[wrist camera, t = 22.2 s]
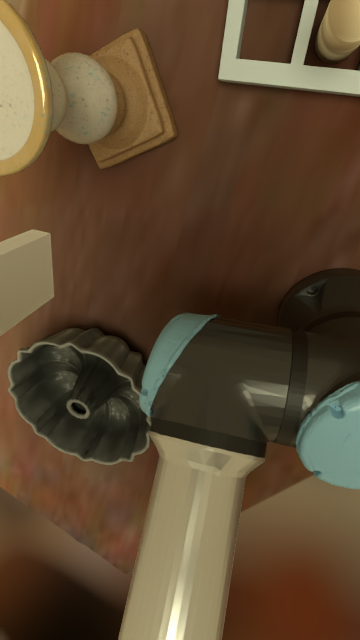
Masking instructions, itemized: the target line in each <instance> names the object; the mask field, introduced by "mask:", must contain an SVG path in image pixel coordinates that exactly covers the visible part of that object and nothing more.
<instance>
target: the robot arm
mask: <svg viewBox="0 0 360 640" xmlns="http://www.w3.org/2000/svg"><path fill="white" fill-rule="evenodd" d="M53 297H54V285H53V269H52V253H51V237H50V233H46V232H42V231H38V230H33V229H32V230H30V231H27V232H25V233H22V234H19V235H17V236H14V237H12V238H9V239H7V240H4V241H2V242H0V336H1V335H2V334H4V333H5V332H6V331H8V330H9V329H11V328H12V327H13V326H15V325H16V324H17V323H19V322H20V321H21V320H23V319H24V318H26V317H27V316H28V315H30V314H31V313H32V312H34V311H35V310H36V309H38V308H39V307H41V306H42V305H43V304H45V303H46V302H47V301H49V300H50V299H52V298H53ZM139 402H140V407H141V410H142V411H143V412H144V413H146V414H147V416H151V417H153V418H152V422H151V426H150V431H149V435H150V437H151V439H152V441H153V442H154V444H155V446H156V448H157V449H158V453H159V460H158V464H157V469H156V473H155V478H154V482H153V487H152V491H151V496H150V500H149V504H148V509H147V513H146V518H145V522H144V527H143V531H142V536H141V540H140V545H139V549H138V554H137V558H136V563H135V567H134V572H133V576H132V581H131V585H130V590H129V594H128V598H127V603H126V608H125V612H124V616H123V621H122V626H121V630H120V635H119V639H118V640H221V639H222V632H223V626H224V619H225V612H226V605H227V599H228V592H229V585H230V578H231V571H232V565H233V558H234V551H235V545H236V537H237V531H238V525H239V518H240V511H241V505H242V498H243V491H244V484H245V478H246V476H247V475H248V473H249V472H251V471H252V470H253V469H255V468H256V467H257V466H259V465H260V464H262V463H263V462H264V460H265V453H266V446H267V442H272V443H277V444H281V445H286V446H290V447H294V448H296V450H297V453H298V455H299V457H300V459H301V461H302V463H303V464H304V466H305V467H306V468H307V469H308V470H309V471H313V474H314V475H315V476H316V477H317V478H319V479H321V480H322V481H325V482H327V483H330V484H333V485H336V486H340V487H345V488H353V489H360V271H358V270H353V269H331V270H326V271H322V272H318V273H316V274H313V275H311V276H309V277H307V278H305V279H303V280H302V281H300V282H299V283H298V284H296V285H295V286H294V287H293V288H292V289H291V290H290V291H289V292H288V294H287V295H286V297H285V298H284V300H283V302H282V304H281V307H280V310H279V315H278V326H272V325H266V324H260V323H253V322H247V321H241V320H235V319H230V318H225V317H220V316H219V315H216V314H213V315H202V314H193V313H183V314H179V315H177V316H175V317H174V318H173V319H171V320H170V322H169V323H168V324H167V325H166V326H165V327H164V329H163V330H162V332H161V333H160V335H159V337H158V338H157V340H156V342H155V344H154V347H153V349H152V351H151V354H150V356H149V359H148V362H147V365H146V368H145V371H144V375H143V378H142V389H141V392H140V399H139Z"/></svg>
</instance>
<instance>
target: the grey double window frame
mask: <svg viewBox="0 0 360 640" xmlns="http://www.w3.org/2000/svg"><path fill="white" fill-rule="evenodd" d="M318 1H319V0H305V2H304V6H303V11H302V15H301V20H300V24H299V29H298V33H297V38H296V42H295V46H294V51H293V55H292V60H291V64H285V63H275V62H265V61H255V60H245V59H239V56H240V50H241V43H242V37H243V31H244V25H245V18H246V12H247V6H248V0H229V4H228V11H227V19H226V26H225V33H224V40H223V48H222V55H221V62H220V70H219V77H218V79H219V80H220V81H222V82H230V83H239V84H248V85H257V86H266V87H275V88H284V89H293V90H303V91H312V92H321V93H330V94H339V95H348V96H357V97H360V64H359V67H358V70H357V71H356V70H346V69H336V68H326V67H316V66H306V65H303V64H304V59H305V55H306V51H307V47H308V43H309V39H310V34H311V30H312V26H313V22H314V18H315V14H316V9H317V5H318Z"/></svg>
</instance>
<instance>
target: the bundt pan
mask: <svg viewBox="0 0 360 640" xmlns="http://www.w3.org/2000/svg"><path fill="white" fill-rule="evenodd" d="M145 368H146V366H145V365H144V364H143V361H142V355H141V353H138V352H133V351H130V349H129V347H128V345H127V344H126V343H125V342H124V341H123V340H122V339H120V338H118V337H116V336H111V335H107V336H105V335H104V334H103V333H102V332H101V330H100V329H98V328H92V329H89V330H87V331H85V330H83V329H80V328H68V329H65V330H63V331H61V332H59V333H57V334H56V335H50V336H47V337H46V338H44V339H42V340H40V341H38V342H36V343H35V344H33V345H32V346H30V347H28V348H26V349H20V350H19V351H18V354H17V359H16V360H14V361H13V362H12V363H11V364H10V365H9V367H8V378H9V381H10V383H11V385H10V386H9V388H8V391H9V393H10V394H11V395H12V396H13V398H14V400H15V401H14V402H15V406H16V409H17V411H18V413H19V414H20V415H21V417H22V418H23V419H24V420H25V421H26V422H27V423H29V424H30V425H31V426H32V427H33V430H34V432H35V433H36V434H37V435H39V436H41V437H44V438H45V439H46V440H47V441H48V442H49V443H50V444H51V445H52V446H54V447H55V448H56V449H58V450H60V451H62V452H64V453H67V454H70V455H75V456H77V457H78V458H79V459H81V460H82V461H85V462H86V461H94V462H97V463H100V464H104V465H113V464H117V463H119V462H121V461H127V462H132V461H133V460H134V457H135V455H139V454H142V453H144V452H145V451H146V450H147V449H148V447H149V445H150V442H151V437H150V435H149V431H150V426H151V422H152V418H153V417H151V416H147V414H146V413H144V412H143V411H142V410H141V407H140V402H139V399H140V392H141V389H142V378H143V375H144V371H145Z"/></svg>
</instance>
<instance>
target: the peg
mask: <svg viewBox="0 0 360 640" xmlns="http://www.w3.org/2000/svg"><path fill="white" fill-rule="evenodd" d="M359 45H360V0H331V1H330V3H329V6H328V8H327V10H326V13H325V15H324V18H323V20H322V22H321V25H320V27H319V30H318V32H317V35H316V39H315V50H316V53H317V55H318V57H319V58H320V59H321V60H322V61H323V62H325V63H328V64H336V63H339V62H341V61H343V60H345V59H346V58H347V57H348V56H349V55H350V54H351V53H352V52H353V51H354V50H355V49H356V48H357V47H358V46H359Z"/></svg>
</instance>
